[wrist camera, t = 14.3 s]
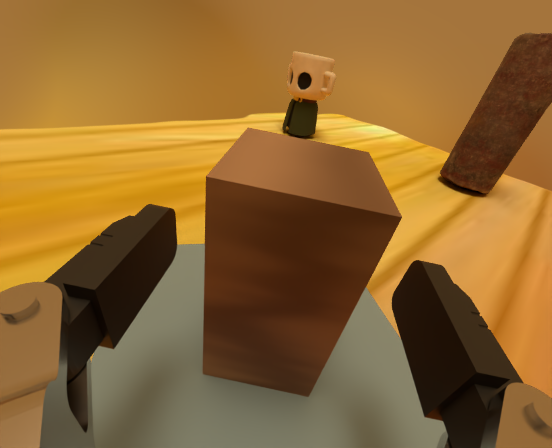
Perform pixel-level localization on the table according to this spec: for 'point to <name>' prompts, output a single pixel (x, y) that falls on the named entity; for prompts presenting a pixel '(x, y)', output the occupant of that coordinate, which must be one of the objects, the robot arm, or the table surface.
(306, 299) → the walnut block
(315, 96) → the character mug
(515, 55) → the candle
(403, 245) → the table surface
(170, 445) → the slate-blue mat
